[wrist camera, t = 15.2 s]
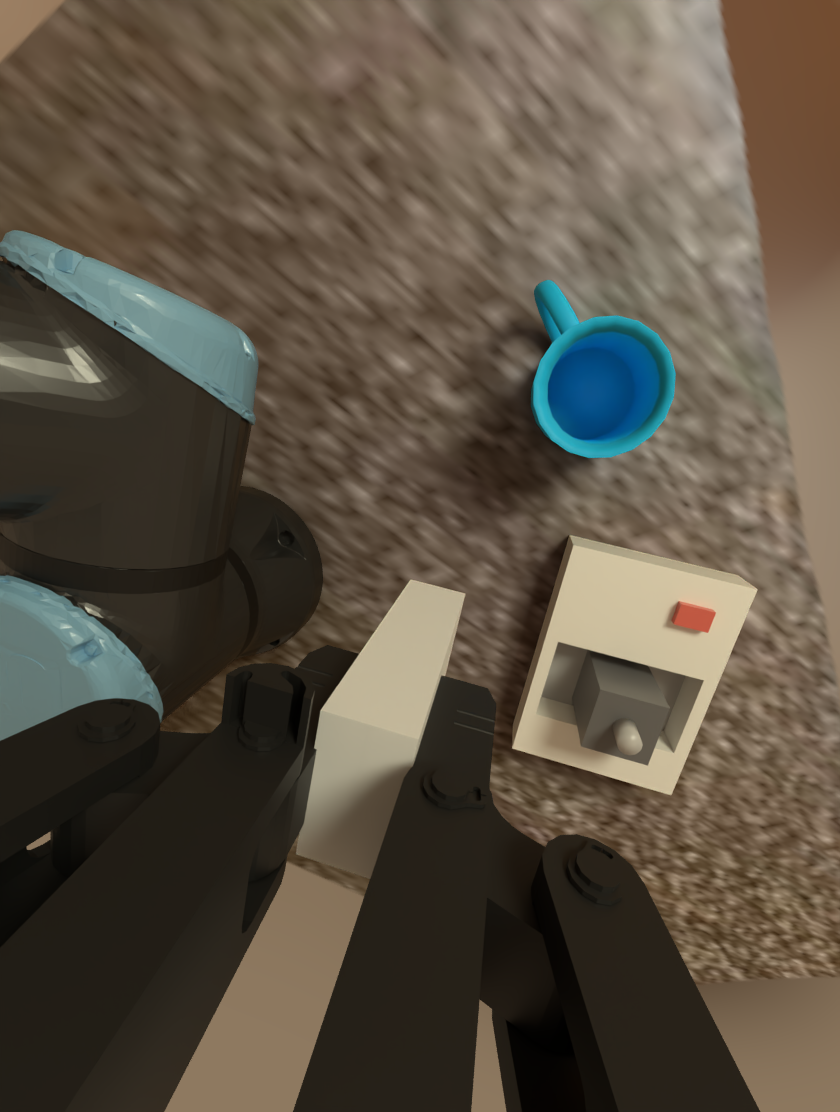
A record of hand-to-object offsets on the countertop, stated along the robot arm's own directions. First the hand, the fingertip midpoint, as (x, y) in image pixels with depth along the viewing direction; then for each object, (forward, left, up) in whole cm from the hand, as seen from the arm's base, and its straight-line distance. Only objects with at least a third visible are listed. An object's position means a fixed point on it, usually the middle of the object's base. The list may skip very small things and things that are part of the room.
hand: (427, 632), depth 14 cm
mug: (+4, +10, -30) cm, 32 cm away
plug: (+13, -13, -29) cm, 35 cm away
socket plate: (+13, -11, -29) cm, 34 cm away
